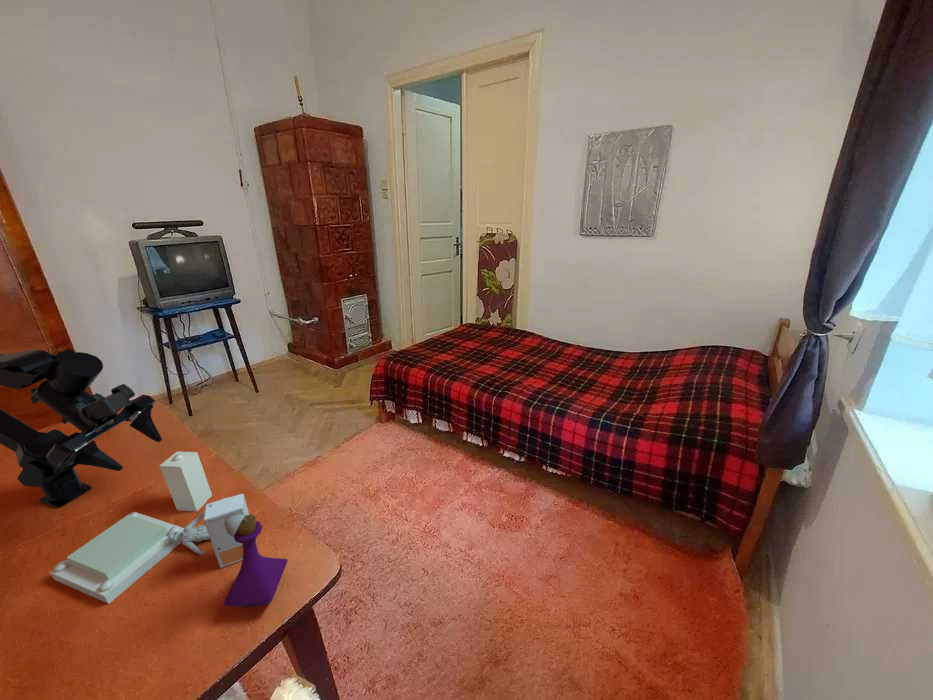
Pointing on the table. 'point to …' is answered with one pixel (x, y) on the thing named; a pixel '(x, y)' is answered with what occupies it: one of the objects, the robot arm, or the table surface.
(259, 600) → the perfume bottle
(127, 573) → the studded pedestal base
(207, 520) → the skincare box
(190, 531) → the soldier figure
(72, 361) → the robot arm
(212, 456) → the table surface
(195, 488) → the tall brick
